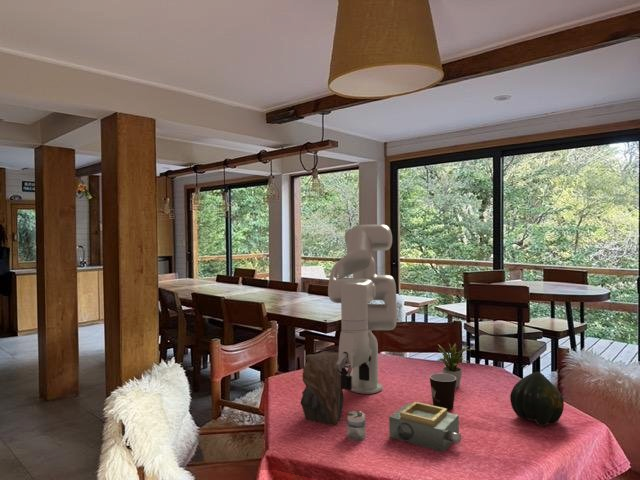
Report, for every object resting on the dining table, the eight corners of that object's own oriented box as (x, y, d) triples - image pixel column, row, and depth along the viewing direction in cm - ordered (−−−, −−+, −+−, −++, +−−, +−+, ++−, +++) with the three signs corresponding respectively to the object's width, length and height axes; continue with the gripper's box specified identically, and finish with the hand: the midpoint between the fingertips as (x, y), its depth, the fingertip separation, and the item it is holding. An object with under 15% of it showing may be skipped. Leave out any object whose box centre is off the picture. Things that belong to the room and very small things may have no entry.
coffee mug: (457, 413, 148) (457, 382, 148) (430, 411, 150) (430, 380, 149) (454, 399, 159) (454, 371, 159) (429, 398, 161) (428, 370, 161)
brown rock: (299, 420, 145) (298, 357, 144) (316, 405, 156) (315, 347, 156) (336, 426, 140) (335, 361, 139) (351, 410, 151) (350, 350, 151)
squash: (526, 415, 132) (553, 372, 135) (493, 399, 146) (518, 360, 149) (558, 443, 135) (584, 400, 137) (522, 424, 149) (547, 386, 152)
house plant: (479, 393, 165) (479, 347, 165) (441, 393, 165) (440, 348, 165) (467, 379, 179) (467, 338, 179) (432, 380, 180) (431, 338, 179)
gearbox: (388, 438, 131) (388, 412, 131) (407, 422, 141) (407, 398, 141) (453, 456, 120) (453, 428, 120) (469, 438, 130) (469, 412, 130)
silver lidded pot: (343, 438, 132) (343, 411, 131) (353, 431, 136) (353, 405, 136) (359, 443, 129) (359, 415, 128) (368, 435, 133) (368, 409, 133)
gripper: (359, 319, 140) (359, 374, 141) (326, 329, 126) (327, 390, 127) (380, 321, 136) (381, 378, 136) (349, 332, 122) (350, 396, 122)
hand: (355, 384), depth 132 cm, fingers open, 9 cm apart
